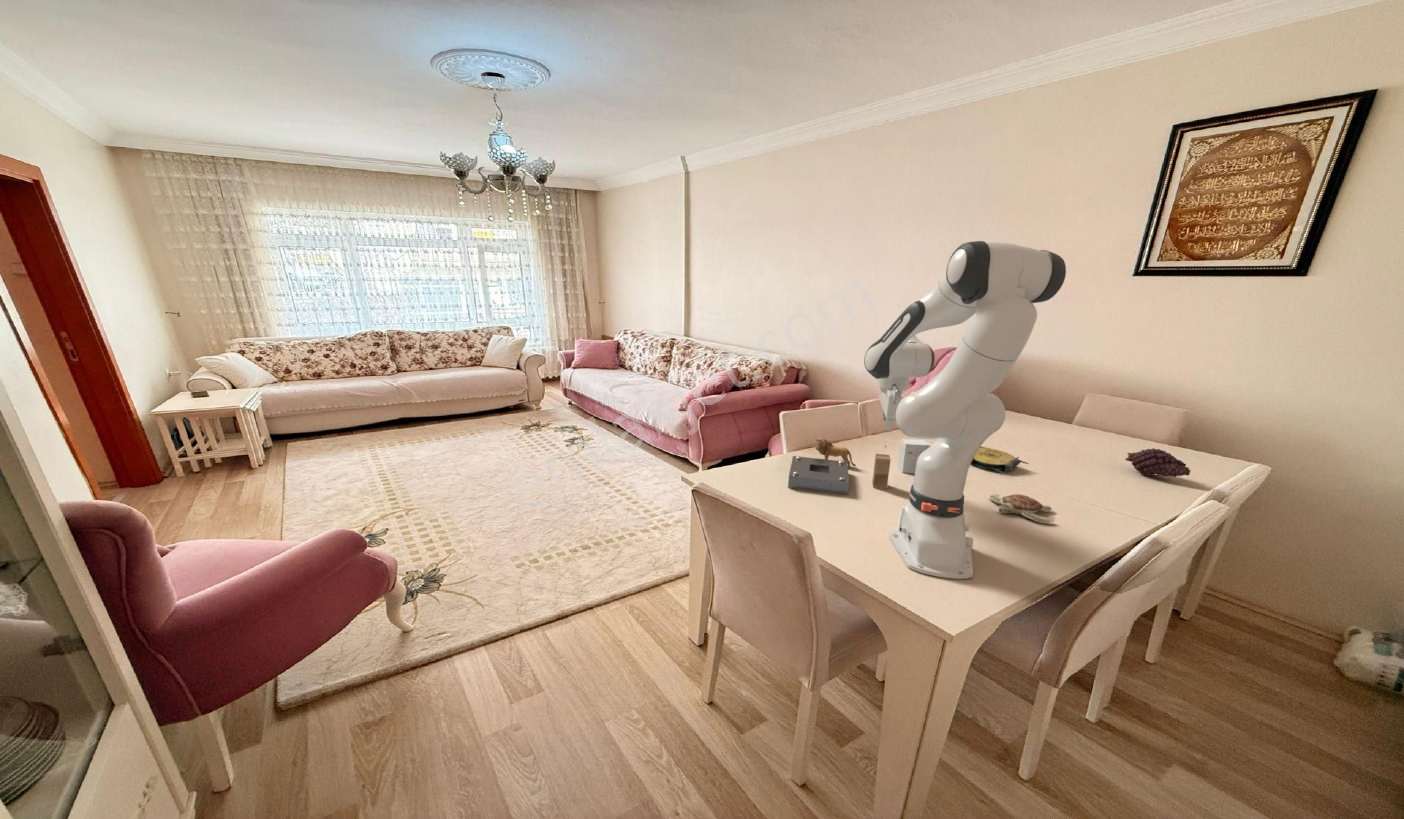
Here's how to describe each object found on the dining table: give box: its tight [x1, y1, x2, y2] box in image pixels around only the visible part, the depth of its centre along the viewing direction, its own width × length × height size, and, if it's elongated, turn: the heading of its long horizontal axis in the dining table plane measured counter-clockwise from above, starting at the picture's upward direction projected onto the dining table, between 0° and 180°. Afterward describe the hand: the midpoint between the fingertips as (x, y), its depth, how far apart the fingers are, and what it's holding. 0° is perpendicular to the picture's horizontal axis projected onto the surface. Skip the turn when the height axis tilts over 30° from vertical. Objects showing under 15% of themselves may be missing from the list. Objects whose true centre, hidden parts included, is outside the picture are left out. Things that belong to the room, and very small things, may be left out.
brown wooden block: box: [871, 453, 892, 490], centre depth 156 cm, size 4×4×10 cm
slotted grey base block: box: [787, 455, 850, 496], centre depth 160 cm, size 18×18×5 cm
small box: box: [897, 438, 931, 474], centre depth 169 cm, size 8×6×10 cm
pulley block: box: [970, 445, 1029, 475], centre depth 180 cm, size 14×6×30 cm
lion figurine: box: [813, 437, 857, 469], centre depth 173 cm, size 15×5×9 cm, turn 70°
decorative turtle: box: [988, 493, 1055, 524], centre depth 142 cm, size 18×17×5 cm
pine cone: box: [1124, 447, 1191, 478], centre depth 168 cm, size 18×10×10 cm, turn 27°
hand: (886, 425), depth 152 cm, fingers open, 8 cm apart
